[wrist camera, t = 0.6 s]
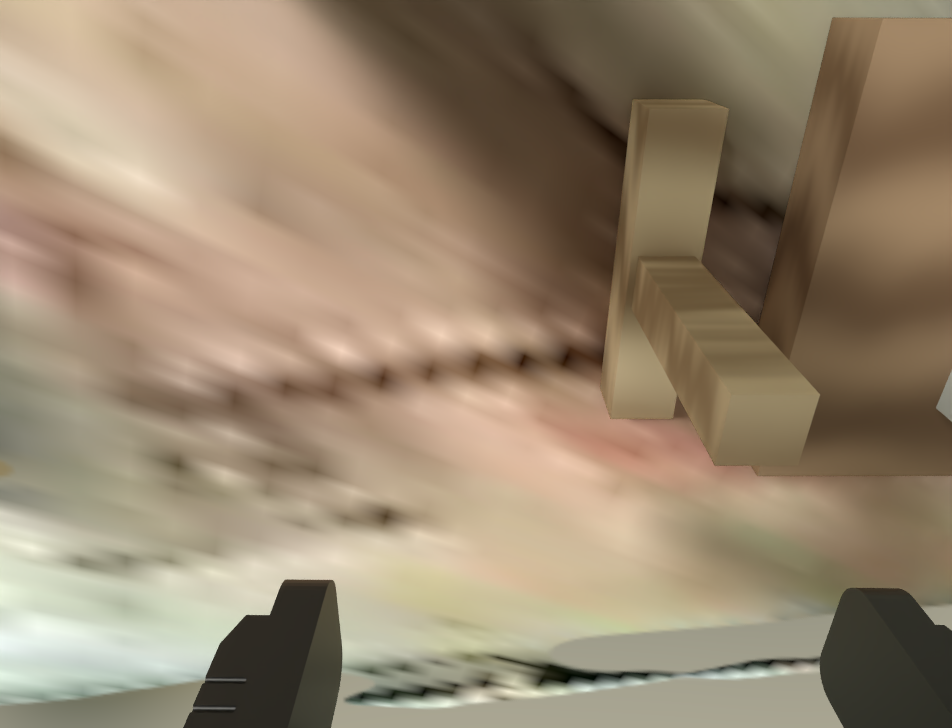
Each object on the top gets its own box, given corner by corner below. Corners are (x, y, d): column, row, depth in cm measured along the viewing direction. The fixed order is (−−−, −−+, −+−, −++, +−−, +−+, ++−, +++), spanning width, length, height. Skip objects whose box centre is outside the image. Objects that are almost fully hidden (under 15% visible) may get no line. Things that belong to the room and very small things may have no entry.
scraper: (631, 99, 27) (768, 175, 14) (703, 99, 27) (901, 175, 14) (599, 386, 33) (673, 604, 21) (656, 386, 33) (763, 604, 21)
